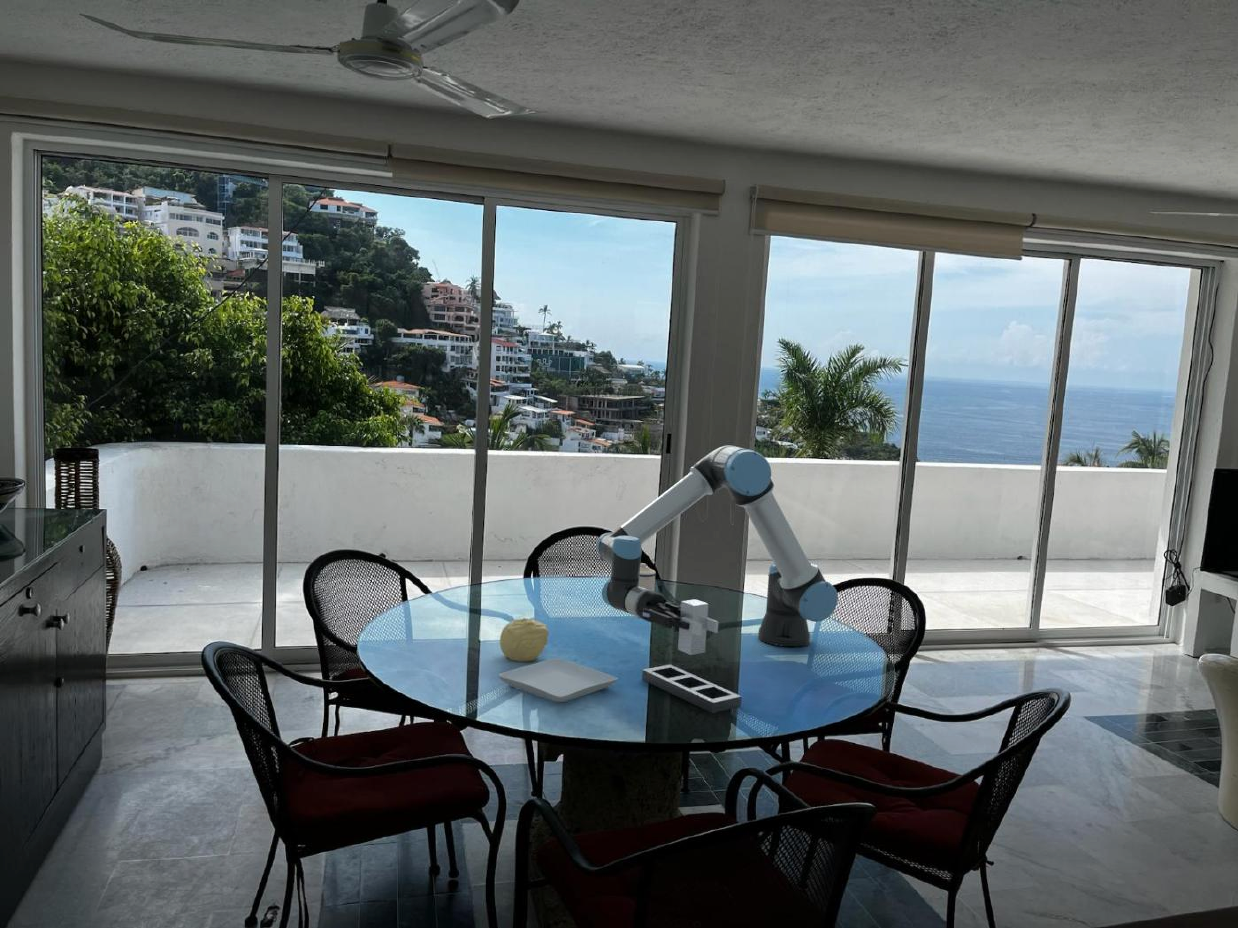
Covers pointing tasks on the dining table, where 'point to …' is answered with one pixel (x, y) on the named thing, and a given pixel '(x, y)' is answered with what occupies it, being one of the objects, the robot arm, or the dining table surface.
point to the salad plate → (557, 679)
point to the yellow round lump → (523, 639)
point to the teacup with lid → (646, 577)
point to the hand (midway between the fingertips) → (708, 628)
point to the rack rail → (693, 695)
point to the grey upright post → (696, 613)
